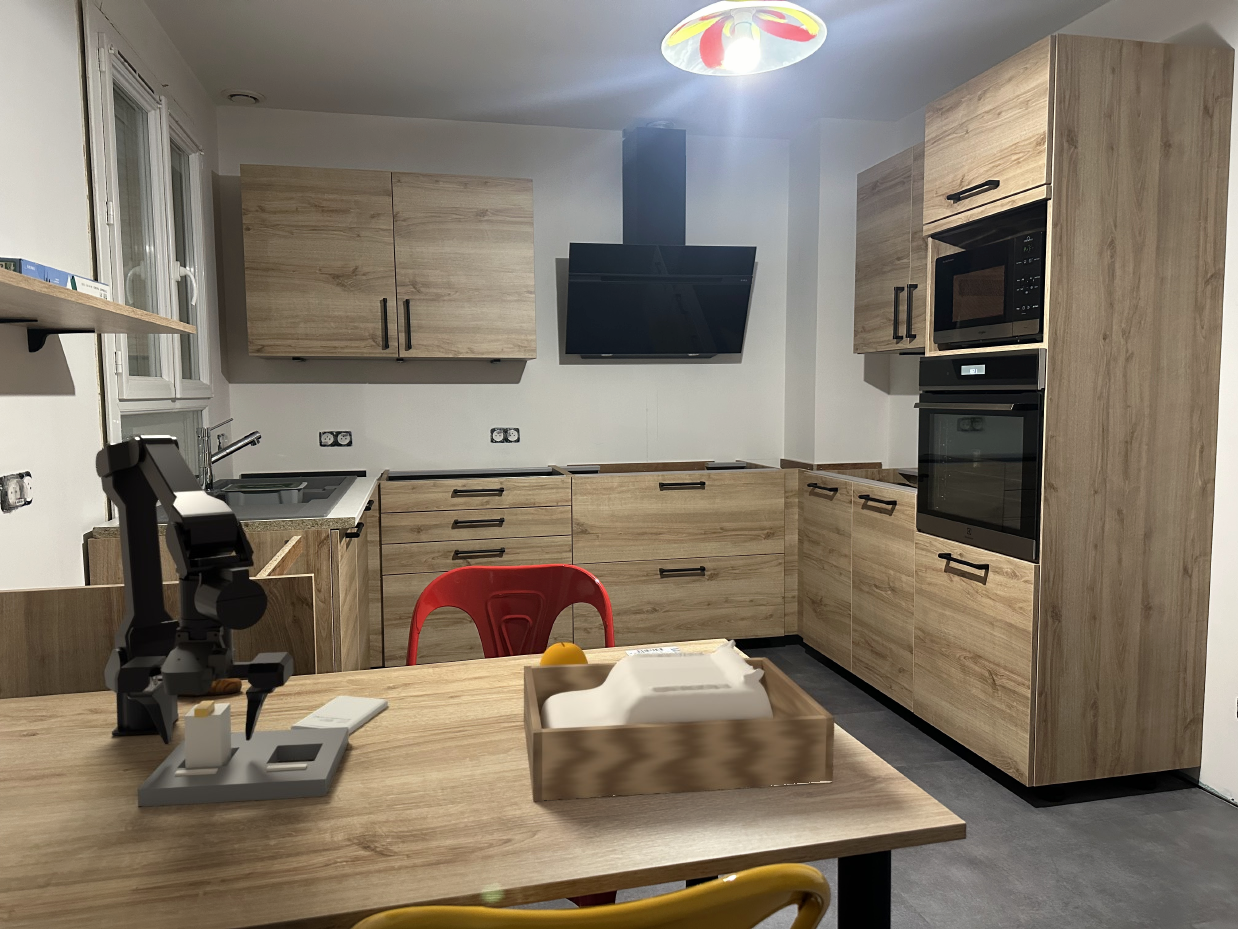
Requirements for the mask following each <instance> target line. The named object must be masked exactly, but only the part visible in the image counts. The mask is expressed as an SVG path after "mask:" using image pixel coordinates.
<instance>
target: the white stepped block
mask: <svg viewBox="0 0 1238 929" xmlns="http://www.w3.org/2000/svg"><path fill="white" fill-rule="evenodd" d="M735 646H736V642H735V640H734V639H731V640H729V641H727V642H723V643H721V644H718V645H717V646H716V651H715V652H710V653H703V652H701V651H696V652H695V651H693V652H684V651H683V652H652V653H646V652H641V653H637V652H636V653H633V654H632V655H631V654H630V655H627V656H624V657H623V658H621V659H620V660H619V661H618V662H616V663H617V664H616V665H615V666H614V667H613V668H612V670H611V672H610V673H609V675H608V677H607V679H606V681H605V682H604V683H603V684H602V685H601V686H599V687H597V688H594V689H589V690H582V691H571V692H565V693H560V694H556V695H553V696H551V697H550V698H548V699H547V700H546V701H545V703H544V705H543V707H542V710H541V716H540V722H541V727H542V729H550V728H571V727H592V726H612V725H633V724H654V723H674V722H695V721H716V720H736V719H757V718H773V714H772V709H771V705H770V702H769V699H768V696H767V693H766V691H765V689H764V687H763V686H762V685H761V683H760V682H759V680H760V678H761V677H762V676H763V674H764V672H765V671H763V670H761V669H760V668H759V669H757V670H754V669H753V666H750V665H748V664H747V663H746V661H745V660H744V657H743V656H742V655H740V653H739V652H738V651H736V650H735V649H734V648H735Z"/></svg>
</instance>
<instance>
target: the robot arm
mask: <svg viewBox="0 0 1238 929" xmlns="http://www.w3.org/2000/svg"><path fill="white" fill-rule="evenodd" d="M95 455H96V456H95V470H96V473H97V476H98V478H100V480H101V488H102V491H103V493H104V494H105V495H106V496H107V498H108V499H109V500H110V501H111V502H112V503H113V504H114V506H115V507H116V509H117V514H118V527H119V538H120V539H119V540H120V541H119V542H120V551H121V561H122V562H121V566H122V574H123V588H124V600H125V602H124V603H125V615H124V617H123V619H122V621H121V622H120V623H119V624H120V625H119V627H118V628H117V630H116V632H115V633H114V648H113V649H112V650H111V652H110V655H109V659H108V660H107V663H106V666H105V669H104V672H103V673H104V679H105V680H104V681H105V686H106V688H108V689H110V690H111V691H112V692H113V693H115V696H116V727H115V728H114V729H113V730H112V731H111V736H129V735H133V736H134V735H150V734H151V735H152V734H153V735H154V734H159V735H160V738H161V739H162V742H163V745H169V744H170V743H172V737H173V723H174V722H176V720H177V719H178V718H179V711H178V710H179V708H178V705H179V704H178V695H177V694H186V693H193V694H195V695H198V694H204V693H206V692H208V691H209V690H210V689H211V687H212V683H213V681H217V680H218V679H232V678H238V679H247V682H248V683H249V685H250V686H249V687H248V688H247V690H246V691H245V694H246V699H247V703H246V715H245V716H246V718H245V728H244V730H245V731H244V732H245V734H246V741H249V740H250V739H251V738H252V735H253V732H254V731H255V729H256V726H257V723H258V720H259V718H260V714H261V712H262V709H263V706H264V704H265V702H266V700H267V697H268V695H269V694H270V695H271V694H273V693H274V692H275V691H276V689H277V688H279V687H283V686H284V687H285V684H286V683H287V682H288V681H289V679H290V678H291V677H292V675H293V674H294V658H293V656H292V655H291V654H290V653H289V652H288V651H279V652H260V653H259V652H258V654H257V655H256V657H254V658H253V660H251V661H235V662H234V658H236V648H234V631H242V630H243V631H244V630H247V629H249V628H252V627H253V626H255V625H256V624H257V623H258V622H259V621H260V620H261V619H262V617H263V616H264V614H265V613H266V610H267V607H268V595H267V594H266V591H265V589H264V587H263V586H262V585H261V584H260V583H259V582H257V581H255V580H253V579H251V578H250V569H249V568H251V567H252V568H253V567H254V565H255V563H254V559H253V555H254V553H255V552H254V550H253V547H252V545H251V543H250V541H249V538H248V536H247V532H245V530H244V526H243V524H242V522H241V520H240V519H239V518H238V517H237V515H236V514H235V512H234V511H233V510H232V509H231V508H230V506H228V504H227V503H225V501H224V500H221V499H219V498H216V497H215V496H211V495H208V494H207V493H206V491H205V490H204V489H203V487H202V486H201V483H200V482H199V480H198V479H197V477H196V475H195V474H194V473H193V470H192V469H191V468H190V466H189V465H188V463H187V461H186V460H185V458H184V456H183V455H182V454H181V452H180V444H179V442H178V438H177V437H176V436H171V435H169V434H168V435H167V434H166V435H165V434H164V435H163V434H161V435H159V434H157V435H155V434H154V435H149V434H148V435H138V436H137V437H131V438H130V439H129V440H125V441H122V442H117V443H115V442H113V443H112V442H111V443H109V442H108V443H106V445H105V446H104V447H103V448H102V449H100V450H99V451H97V453H96V454H95ZM158 503H160V505H161V507H162V508H163V510H164V513H165V514H166V515H167V524H166V526H165V530H164V531H165V534H164V536H165V544H166V545H165V546H166V547H167V551H168V552H169V554H170V556H171V558H172V560H173V563H174V565H175V566H176V568H175V573H176V574H178V611H179V613H178V614H179V617H178V618H179V620H176V619H174V618H173V616H172V615H171V614H170V613H169V612H168V611H167V609H166V606H165V605H166V604H165V591H164V582H163V581H164V578H163V570H162V569H163V568H162V556H161V545H160V534H159V532H160V531H159V521H158V509H157V507H158V506H157V504H158ZM233 553H235V554H233Z"/></svg>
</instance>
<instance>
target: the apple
mask: <svg viewBox="0 0 1238 929" xmlns="http://www.w3.org/2000/svg"><path fill="white" fill-rule="evenodd" d="M573 664H589V661H588V659H587V657H586V654H585V652H584V650H583V649H581V647H579V645H576V644H575V643H572V642H557V643H555V644H552V645H551V646H549V647H547V649H546V650H545V651H544V652H543V654H542V656H541V659H540V662H539V666H545V665H573Z"/></svg>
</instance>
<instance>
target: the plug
mask: <svg viewBox="0 0 1238 929" xmlns="http://www.w3.org/2000/svg"><path fill="white" fill-rule="evenodd" d="M231 713H232V711H231V703H230V702H223V703H215V700H202V701H200V703H199V704H194V705H193V707H192V708H191V709H190V710H189V711H188V712H187V713H186V714H185V715H184V718H183V719H184V720H183V721H184V739H185V766H186V768H194V767H213V766H226V765H227V764H228V763H229V761H230V760H231V732H232V727H231V726H232V720H231V718H232V717H231Z"/></svg>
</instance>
